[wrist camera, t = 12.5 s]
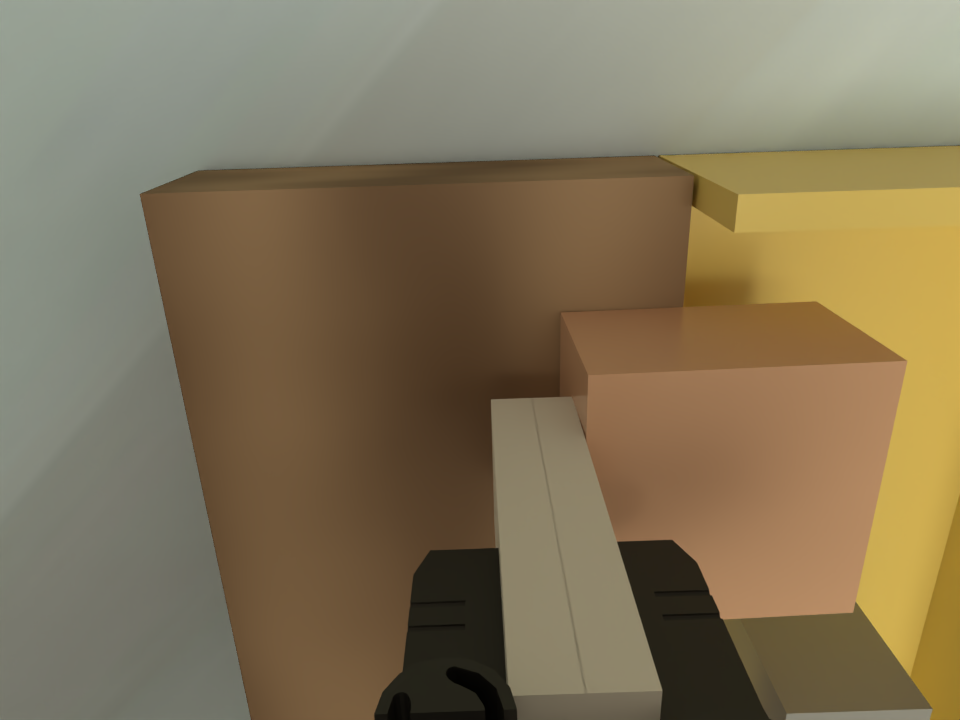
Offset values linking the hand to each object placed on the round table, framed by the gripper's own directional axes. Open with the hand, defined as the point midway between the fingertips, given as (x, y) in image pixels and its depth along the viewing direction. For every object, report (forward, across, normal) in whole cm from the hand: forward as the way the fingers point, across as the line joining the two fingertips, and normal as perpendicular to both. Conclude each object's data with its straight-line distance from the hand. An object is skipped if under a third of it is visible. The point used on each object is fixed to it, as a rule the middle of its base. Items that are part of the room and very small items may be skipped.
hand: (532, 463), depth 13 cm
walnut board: (+5, -2, -4) cm, 6 cm away
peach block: (+2, +3, 0) cm, 4 cm away
